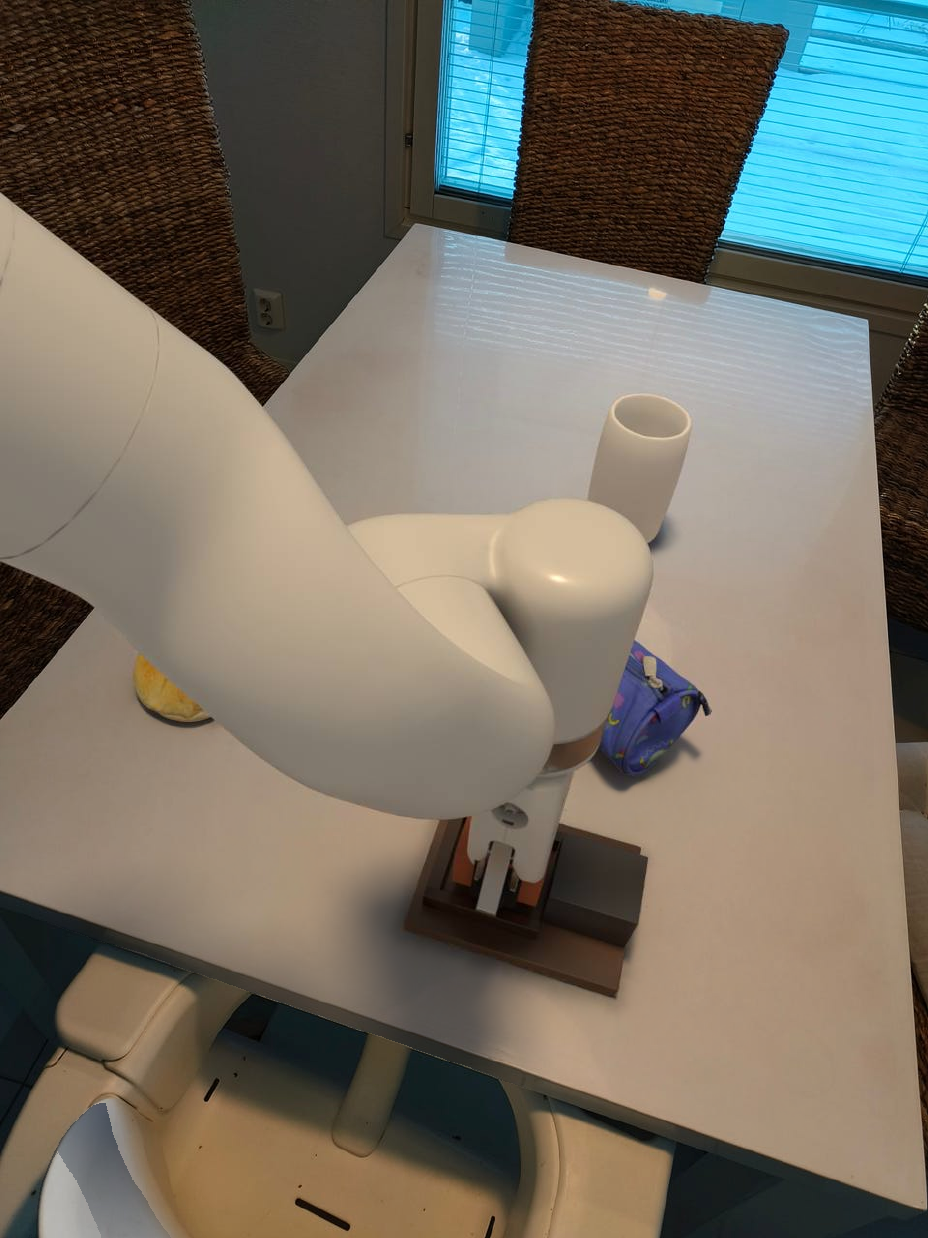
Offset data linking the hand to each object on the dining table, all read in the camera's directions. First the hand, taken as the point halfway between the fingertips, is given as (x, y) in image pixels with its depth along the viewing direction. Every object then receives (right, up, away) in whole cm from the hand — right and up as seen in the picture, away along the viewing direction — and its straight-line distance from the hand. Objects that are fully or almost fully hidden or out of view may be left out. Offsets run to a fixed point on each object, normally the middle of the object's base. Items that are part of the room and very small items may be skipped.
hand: (503, 859), depth 60 cm
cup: (+14, +26, +31) cm, 42 cm away
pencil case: (+6, +11, +15) cm, 20 cm away
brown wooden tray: (+2, -3, +2) cm, 4 cm away
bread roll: (-26, +11, +13) cm, 31 cm away
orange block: (0, 0, 0) cm, 0 cm away
